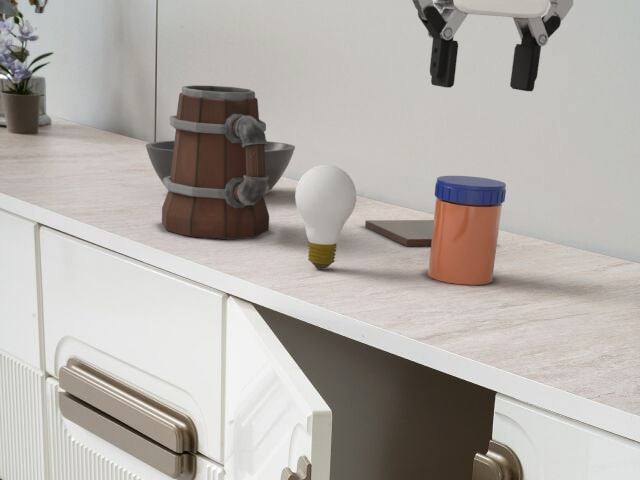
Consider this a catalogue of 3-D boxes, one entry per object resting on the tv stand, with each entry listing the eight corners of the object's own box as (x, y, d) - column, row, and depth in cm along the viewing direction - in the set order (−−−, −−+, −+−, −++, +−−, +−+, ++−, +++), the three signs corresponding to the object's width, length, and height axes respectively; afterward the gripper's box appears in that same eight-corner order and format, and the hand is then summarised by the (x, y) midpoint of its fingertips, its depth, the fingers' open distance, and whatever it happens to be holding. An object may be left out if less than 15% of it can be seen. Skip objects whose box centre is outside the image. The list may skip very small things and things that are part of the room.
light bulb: (300, 259, 115) (307, 158, 111) (356, 266, 113) (365, 164, 109) (283, 270, 109) (289, 165, 105) (341, 278, 108) (350, 171, 104)
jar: (471, 269, 116) (482, 181, 113) (504, 284, 111) (516, 192, 107) (416, 270, 114) (426, 180, 110) (447, 285, 108) (458, 191, 105)
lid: (481, 193, 113) (483, 175, 113) (517, 205, 108) (520, 187, 107) (422, 192, 111) (424, 175, 110) (456, 205, 105) (458, 186, 104)
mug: (144, 221, 127) (145, 81, 122) (237, 217, 134) (242, 84, 128) (208, 250, 116) (213, 97, 110) (307, 244, 122) (317, 99, 116)
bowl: (313, 197, 151) (316, 150, 149) (176, 206, 138) (177, 154, 135) (259, 183, 160) (261, 138, 157) (124, 190, 146) (124, 141, 144)
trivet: (445, 226, 138) (446, 219, 138) (491, 245, 129) (492, 238, 129) (364, 227, 134) (365, 220, 134) (406, 246, 125) (407, 239, 124)
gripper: (565, -110, 105) (538, 88, 112) (399, -132, 98) (381, 80, 105) (614, -115, 99) (582, 95, 105) (441, -138, 92) (418, 88, 99)
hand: (482, 87), depth 105 cm, fingers open, 8 cm apart
